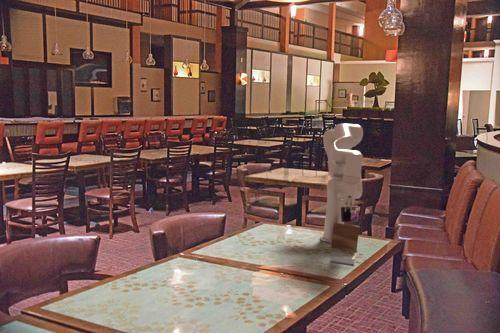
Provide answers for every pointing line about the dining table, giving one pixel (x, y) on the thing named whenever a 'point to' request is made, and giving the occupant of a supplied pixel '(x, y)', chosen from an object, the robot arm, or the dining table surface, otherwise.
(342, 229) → the screen
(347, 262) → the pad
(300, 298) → the dining table surface
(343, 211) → the pink radish toy
